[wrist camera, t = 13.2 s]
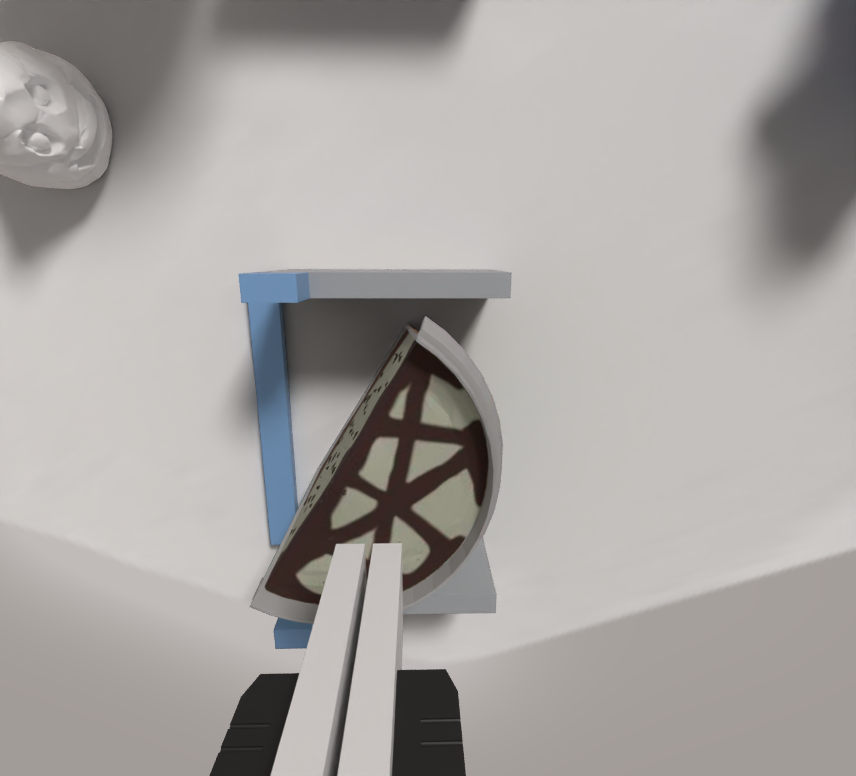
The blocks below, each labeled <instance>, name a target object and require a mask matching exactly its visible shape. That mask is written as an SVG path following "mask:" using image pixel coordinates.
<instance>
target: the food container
mask: <svg viewBox="0 0 856 776" xmlns="http://www.w3.org/2000/svg"><path fill="white" fill-rule="evenodd" d="M502 449H503V444H502V436H501V427H500V420H499V417H498V413H497V410H496V407H495V403H494V400H493V397H492V394H491V392H490V390H489V388H488V386H487V384H486V382H485V380H484V378H483V376H482V374H481V372H480V371H479V369H478V368H477V367H476V365H475V364H474V362H473V361H472V360H471V358H470V357H469V355H468V354H467V353H466V351H465V350H464V349H463V348H462V347H461V346H460V345H459V344H458V343H457V342H456V341H455V340H454V339H453V338H452V337H451V336H450V335H449V334H448V333H447V332H446V331H445V330H444V329H442V328H441V327H440V326H438V325H437V324H436V323H434V322H433V321H432V320H430V319H429V318H427V317H426V316H425V317H424V319H423V321H422V325H421V328H420V331H418V330H417V329H415V328H414V327H412V326H411V325H410V324H408V323H407V324H406V326H405V327H404V329H403V331H402V332H401V334H400V335H399V337H398V339H397V340H396V342H395V344H394V345H393V347H392V348H391V350H390V352H389V353H388V355H387V357H386V358H385V360H384V361H383V363H382V365H381V366H380V368H379V370H378V371H377V373H376V375H375V376H374V378H373V379H372V381H371V383H370V384H369V386H368V388H367V389H366V391H365V392H364V394H363V396H362V397H361V399H360V401H359V402H358V404H357V405H356V407H355V409H354V410H353V412H352V414H351V415H350V417H349V418H348V420H347V422H346V423H345V425H344V427H343V428H342V430H341V431H340V433H339V435H338V436H337V438H336V440H335V441H334V443H333V444H332V446H331V448H330V449H329V451H328V453H327V454H326V456H325V458H324V459H323V461H322V462H321V464H320V466H319V467H318V469H317V471H316V473H315V475H314V478H313V480H312V482H311V484H310V486H309V488H308V490H307V492H306V494H305V496H304V498H303V500H302V502H301V504H300V506H299V508H298V510H297V512H296V514H295V516H294V518H293V520H292V522H291V524H290V526H289V528H288V530H287V532H286V534H285V536H284V538H283V540H282V542H281V544H280V546H279V548H278V550H277V552H276V554H275V556H274V558H273V560H272V562H271V564H270V566H269V568H268V571H267V573H266V575H265V577H263V578H262V580H261V582H260V584H259V586H258V588H257V591H256V593H255V595H254V597H253V601H252V603H251V605H250V607H251V608H254V609H256V610H259V611H261V612H264V613H266V614H269V615H271V616H275V617H279V618H283V619H287V620H291V621H295V622H302V623H310V624H314V620H315V617H316V613H317V610H318V606H319V603H320V599H321V596H322V592H323V589H324V585H325V582H326V578H327V575H328V571H329V568H330V564H331V560H332V557H333V553H334V550H335V546H336V544H365V557H366V584H367V580H368V574H369V567H370V561H371V554H372V548H373V544H381V543H402V587H403V610H404V609H406V608H409V607H411V606H413V605H415V604H417V603H419V602H420V601H422V600H423V599H425V598H427V597H428V596H430V595H431V594H433V593H435V592H436V591H437V590H438V589H439V588H441V587H442V586H443V585H444V584H445V583H446V582H448V581H449V580H450V579H451V578H452V577H453V576H454V575H455V574H456V573H457V572H458V570H459V569H460V568H461V567H462V566H463V565H464V564H465V562H466V561H467V560H468V559H469V557H470V556H471V554H472V553H473V551H474V550H475V548H476V546H477V545H478V543H479V542H480V540H481V538H482V537H483V535H484V534H485V532H486V529H487V527H488V525H489V522H490V520H491V517H492V515H493V513H494V510H495V506H496V501H497V497H498V493H499V488H500V481H501V470H502Z"/></svg>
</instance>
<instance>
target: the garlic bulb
mask: <svg viewBox="0 0 856 776" xmlns="http://www.w3.org/2000/svg"><path fill="white" fill-rule="evenodd" d="M111 148H112V128H111V123H110V119H109V115H108V112H107V109H106V107H105V104H104V102H103V101H102V99H101V98H100V96H99V95H98V94H97V93H96V91H95V90H94V88H93V86H92V85H91V83H90V82H89V81H88V80H87V78H86V77H85V76H84V75H83V74H82V73H81V72H80V71H79V70H78V69H77V68H76V67H75V66H74V65H72V64H71V63H69V62H67V61H66V60H64V59H62V58H61V57H58V56H56V55H53V54H51V53H48V52H45V51H41V50H38V49H35V48H32V47H31V46H29V45H27V44H25V43H22V42H17V41H5V42H0V174H1V175H4V176H6V177H8V178H11V179H14V180H17V181H19V182H21V183H23V184H26V185H29V186H33V187H44V188H56V189H77V188H82V187H85V186H87V185H89V184H90V183H92V182H93V181H95V180H97V179H98V178H100V177H101V176H102V174H103V173H104V172H105V171H106V169H107V167H108V164H109V156H110V153H111Z"/></svg>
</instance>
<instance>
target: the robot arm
mask: <svg viewBox="0 0 856 776" xmlns="http://www.w3.org/2000/svg"><path fill="white" fill-rule="evenodd" d="M402 645H403V587H402V543H381V544H373V548H372V554H371V561H370V567H369V574H368V580H367V584H366V557H365V544H336V546H335V550H334V553H333V557H332V560H331V564H330V568H329V571H328V575H327V578H326V582H325V585H324V589H323V592H322V596H321V599H320V603H319V606H318V610H317V613H316V617H315V620H314V624H313V627H312V631H311V635H310V638H309V642H308V645H307V649H306V652H305V656H304V659H303V663H302V666H301V670H300V673H294V674H260V675H259V676H258V678H257V679H256V680H255V681H254V682H253V684H252V685H251V686H250V687H249V688H248V689H247V691H246V692H245V693H244V694H243V695H242V696H241V699H240V701H239V704H238V706H237V709H236V711H235V713H234V716H233V719H232V721H231V723H230V729H228V731H227V733H226V736H225V738H224V741H223V743H222V746H221V751H220V753H218V756H217V758H216V761H215V763H214V766H213V768H212V771H211V773H210V776H466V774H465V763H464V752H463V744H462V731H461V723H460V709H459V699H458V691H457V689H456V687H455V686H454V684H453V682H452V680H451V678H450V676H449V675H448V673H447V671H446V670H445V669H436V670H402Z"/></svg>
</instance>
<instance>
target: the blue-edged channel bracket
mask: <svg viewBox="0 0 856 776" xmlns="http://www.w3.org/2000/svg"><path fill="white" fill-rule="evenodd" d="M239 283H240V293H241V303H248V310H249V320H250V331H251V341H252V352H253V362H254V373H255V383H256V394H257V404H258V415H259V425H260V436H261V446H262V457H263V467H264V478H265V488H266V499H267V509H268V520H269V530H270V541H271V545H280V544H281V542H282V540H283V538H284V536H285V534H286V532H287V530H288V528H289V526H290V524H291V522H292V520H293V518H294V516H295V514H296V512H297V510H298V502H297V489H296V476H295V463H294V450H293V437H292V424H291V411H290V398H289V385H288V372H287V359H286V345H285V332H284V319H283V306H282V303H298V302H301V301H304V300H307V299H309V298H510V295H511V273H510V272H503V271H497V270H331V269H289V270H277V271H266V272H254V273H243V274H239ZM459 613H496V591H495V587H494V583H493V579H492V574H491V570H490V566H489V562H488V557H487V553H486V549H485V545H484V540H483V537H482V538H481V540H480V542H479V543H478V545H477V546H476V548H475V550H474V551H473V553H472V554H471V556H470V557H469V559H468V560H467V561H466V562H465V564H464V565H463V566H462V567H461V568H460V569H459V570H458V572H457V573H456V574H455V575H454V576H453V577H452V578H451V579H450V580H449V581H448V582H446V583H445V584H444V585H443V586H442V587H441V588H439V589H438V590H437V591H436V592H435V593H433V594H431V595H430V596H428V597H427V598H425V599H423V600H422V601H420V602H419V603H417V604H415V605H413V606H411V607H409V608H406V609H404V610H403V614H459ZM312 627H313V624H310V623H302V622H295V621H291V620H287V619H283V618H279V617H278V620H277V623H276V625H275V628H274V638H275V648H276V649H288V648H289V649H291V648H307V645H308V642H309V638H310V635H311V631H312Z"/></svg>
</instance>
